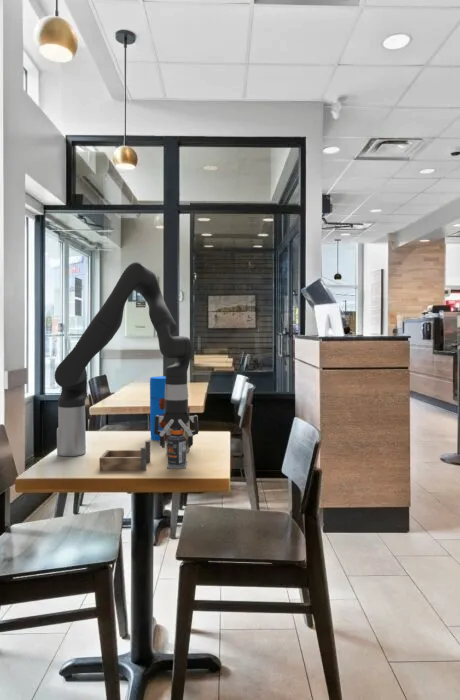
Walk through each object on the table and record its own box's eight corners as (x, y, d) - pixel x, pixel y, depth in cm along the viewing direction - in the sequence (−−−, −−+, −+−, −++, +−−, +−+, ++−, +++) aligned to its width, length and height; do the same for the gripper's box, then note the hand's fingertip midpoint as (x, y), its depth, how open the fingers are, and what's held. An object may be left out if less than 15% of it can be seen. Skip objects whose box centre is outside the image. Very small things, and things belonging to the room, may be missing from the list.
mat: (167, 468, 168) (167, 466, 168) (169, 462, 175) (169, 461, 175) (185, 468, 168) (185, 466, 168) (187, 462, 175) (187, 461, 175)
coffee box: (183, 456, 185) (183, 410, 184) (165, 455, 186) (165, 410, 185) (190, 450, 194) (190, 406, 193) (173, 449, 195) (173, 406, 194)
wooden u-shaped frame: (99, 470, 166) (99, 448, 166) (107, 462, 177) (106, 441, 177) (145, 470, 166) (145, 448, 166) (150, 461, 177) (150, 441, 177)
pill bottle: (164, 463, 172) (163, 429, 171) (178, 460, 176) (178, 426, 176) (175, 467, 168) (175, 431, 167) (189, 463, 172) (189, 429, 171)
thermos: (153, 435, 221) (152, 376, 220) (178, 435, 221) (178, 376, 220) (148, 441, 210) (147, 378, 209) (174, 441, 210) (174, 378, 209)
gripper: (152, 399, 167) (153, 450, 168) (197, 399, 167) (197, 449, 168) (155, 396, 174) (156, 444, 175) (198, 396, 175) (198, 444, 175)
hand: (176, 447), depth 171 cm, fingers open, 8 cm apart
